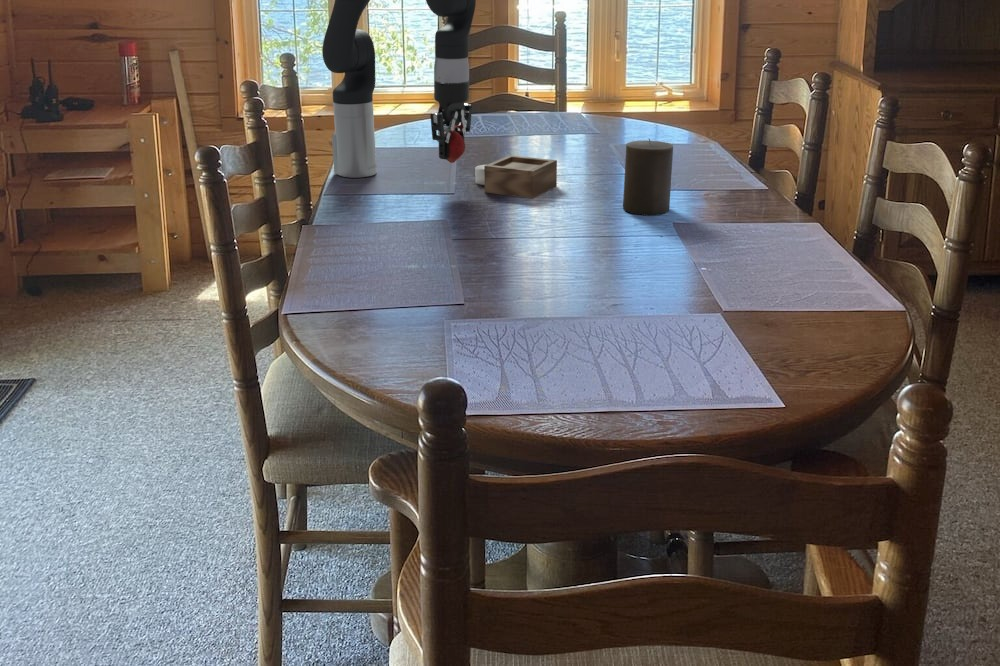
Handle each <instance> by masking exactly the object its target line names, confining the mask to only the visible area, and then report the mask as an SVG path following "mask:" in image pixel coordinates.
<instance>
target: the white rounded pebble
mask: <svg viewBox="0 0 1000 666" xmlns="http://www.w3.org/2000/svg"><path fill="white" fill-rule="evenodd" d="M485 165H486V164H480V165H477V166H475V168H474V171H475V172H474V173H475V183H476V184H478V185H482V186H485V172H484V166H485Z"/></svg>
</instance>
